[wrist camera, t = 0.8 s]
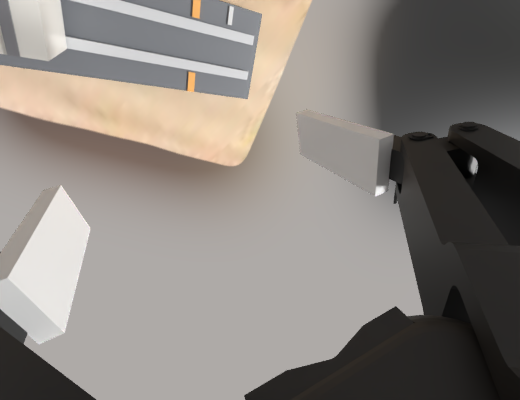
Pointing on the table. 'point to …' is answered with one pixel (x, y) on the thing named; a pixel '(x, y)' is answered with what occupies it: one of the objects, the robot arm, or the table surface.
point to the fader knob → (32, 29)
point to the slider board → (157, 44)
